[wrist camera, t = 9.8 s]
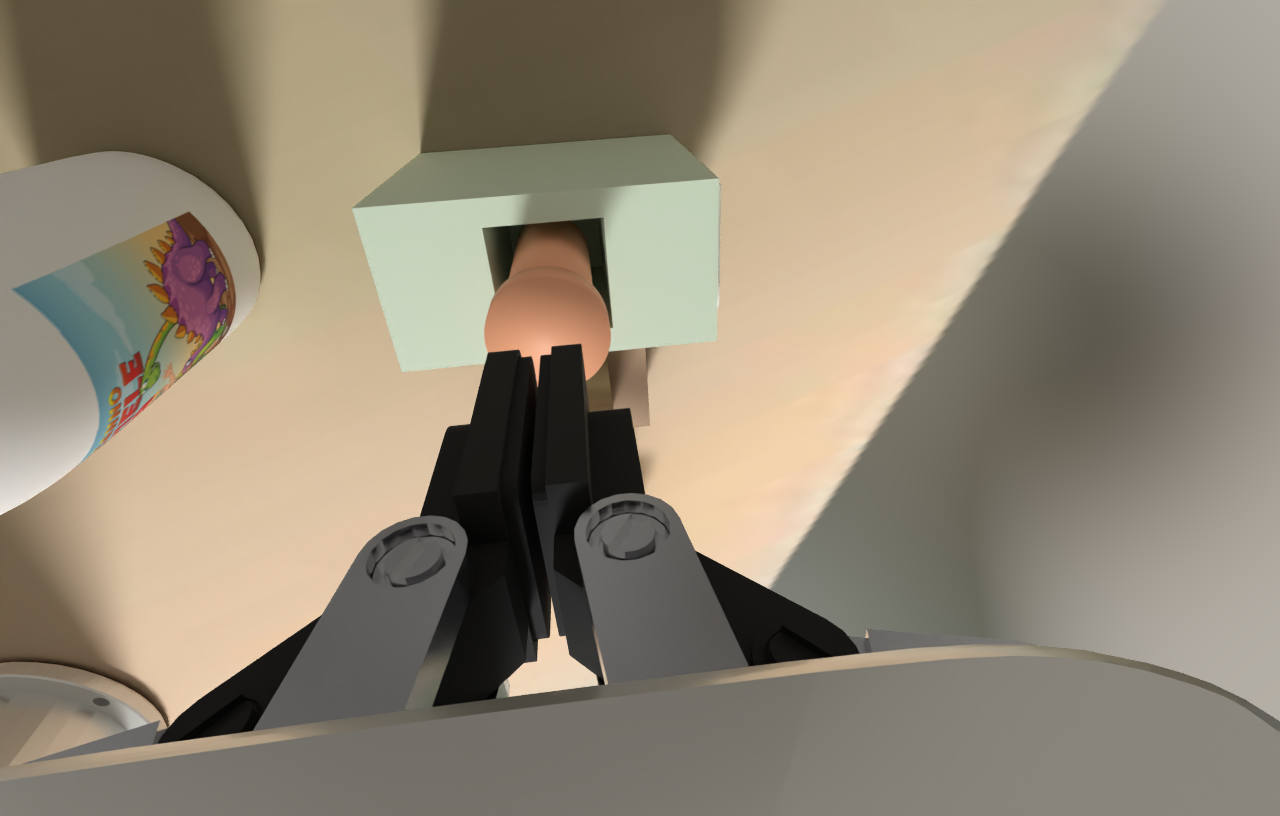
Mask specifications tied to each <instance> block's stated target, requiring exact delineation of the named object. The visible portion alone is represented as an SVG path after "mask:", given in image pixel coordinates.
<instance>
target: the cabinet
mask: <svg viewBox="0 0 1280 816" xmlns="http://www.w3.org/2000/svg"><path fill="white" fill-rule="evenodd" d="M720 210H721V184H720V183H719V178H718V177H717V176H716V175H715V174H714V173H713V172H711V171H710V170H709V169H708V168H707V167H706V166H705V165H704V164H703V163H701V162H700V161H699V160H698V159H697V158H696V157H695V156H694V155H693V154H692V153H690V152H689V151H688V150H687V149H686V148H685V147H684V146H683V145H682V144H681V143H679V142H678V141H677V140H676V139H675V138H674V137H673V136H672V135H671V134H666V135H653V136H640V137H627V138H614V139H601V140H588V141H575V142H562V143H549V144H536V145H523V146H510V147H497V148H484V149H471V150H457V151H444V152H431V153H420V154H419V155H417V156H416V157H415V158H414V159H412V160H411V161H410V162H409V163H408V164H406V165H405V166H404V167H403V168H401V169H400V170H399V171H398V172H396V173H395V174H394V175H393V176H391V177H390V178H389V179H388V180H386V181H385V182H384V183H383V184H381V185H380V186H379V187H378V188H377V189H375V190H374V191H373V192H372V193H370V194H369V195H368V196H367V197H365V198H364V199H363V200H362V201H360V202H359V203H358V204H357V205H355V206H354V207H353V208H352V211H353V214H354V217H355V220H356V224H357V227H358V230H359V234H360V237H361V240H362V243H363V247H364V250H365V253H366V256H367V260H368V263H369V266H370V269H371V273H372V276H373V279H374V283H375V286H376V289H377V292H378V296H379V299H380V302H381V305H382V309H383V312H384V315H385V319H386V322H387V325H388V328H389V332H390V335H391V338H392V341H393V345H394V348H395V351H396V355H397V358H398V361H399V364H400V368H401V371H402V372H407V371H417V370H427V369H437V368H448V367H458V366H468V365H478V364H485V362H486V358H487V354H488V352H487V348H486V345H485V339H484V327H485V321H486V317H487V314H488V310H489V307H490V303H491V300H492V298H493V296H494V294H495V293H496V291H497V290H498V288H499V287H500V286H501V285H502V284H503V283H504V282H505V281H506V280H507V279H509V275H510V271H511V267H512V262H513V258H514V253H515V249H516V245H517V240H518V237H519V235H520V233H521V231H522V230H523V228H524V227H525V226H526V225H527V224H534V223H546V222H557V221H569V220H570V221H572V222H573V223H574V224H576V225H577V226H578V227H579V228H580V230H581V231H582V232H583V234H584V236H585V238H586V240H587V243H588V249H589V258H590V266H591V275H592V283H593V286H594V287H595V288H596V289H597V291H598V292H599V293H600V295H601V297H602V298H603V300H604V303H605V305H606V308H607V311H608V318H609V324H610V330H611V343H610V348H609V351H619V350H629V349H640V348H650V347H660V346H670V345H680V344H690V343H700V342H710V341H717V308H719V272H720Z"/></svg>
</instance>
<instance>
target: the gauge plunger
mask: <svg viewBox="0 0 1280 816" xmlns="http://www.w3.org/2000/svg"><path fill="white" fill-rule="evenodd" d="M484 339H485V345H486V348H487V352H498V351H509V350H520V353H521V356H522V357H529V356H532V359H533V363H534V368H535V374H536V380H537V386H538V380H539V368H540V356H541V355H549V354H551V347H552V346H561V345H571V344H581V345H582V352H583V360H584V368H585V376H586V381H587V380H588V379H590V378H591V377H592V376H593V375H594V374H595V373H596V372H597V371H598V370H599V369H600V368H601V366H602V365H603V363H604V361H605V359H606V357H607V355H608V352H609V348H610V343H611V330H610V324H609V318H608V311H607V308H606V305H605V303H604V300H603V298H602V297H601V295H600V293H599V292H598V291H597V289H596V288H595V287H594V286H593V283H592V275H591V266H590V258H589V249H588V243H587V240H586V238H585V236H584V234H583V232H582V231H581V230H580V228H579V227H578V226H577V225H576V224H574V223H573V222H572V221H570V220H569V221H557V222H546V223H534V224H527V225H526V226H525V227H524V228H523V230H522V231H521V233H520V235H519V237H518V240H517V245H516V249H515V253H514V258H513V262H512V267H511V271H510V275H509V279H507V280H506V281H505V282H504V283H503V284H502V285H501V286H500V287H499V288H498V290H497V291H496V293H495V294H494V296H493V298H492V300H491V303H490V307H489V310H488V314H487V317H486V321H485V327H484Z"/></svg>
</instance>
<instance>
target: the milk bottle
mask: <svg viewBox="0 0 1280 816" xmlns="http://www.w3.org/2000/svg"><path fill="white" fill-rule="evenodd" d="M259 289H260V266H259V259H258V254H257V251H256V249H255V246H254V243H253V240H252V237H251V236H250V234H249V232H248V231H247V229H246V227H245V225H244V223H243V222H242V220H241V219H240V218H239V216H238V215H237V214H236V213H235V212H234V210H233V209H232V208H231V206H230V205H229V204H228V203H227V202H226V201H225V200H224V199H222V198H221V197H220V196H219V195H218V194H217V193H216V192H215V191H214V190H213V189H212V188H210V187H209V186H207V185H206V184H204V183H203V182H202V181H200V180H199V179H197V178H196V177H195V176H193V175H191V174H189V173H187V172H185V171H183V170H181V169H179V168H177V167H175V166H174V165H171V164H169V163H166V162H164V161H161V160H158V159H156V158H152V157H149V156H145V155H141V154H136V153H130V152H122V151H105V152H96V153H91V154H85V155H80V156H74V157H69V158H65V159H61V160H57V161H52V162H48V163H44V164H40V165H36V166H31V167H27V168H23V169H19V170H15V171H11V172H7V173H3V174H0V515H2V514H3V513H5V512H7V511H9V510H11V509H13V508H15V507H17V506H19V505H20V504H22V503H24V502H26V501H28V500H29V499H31V498H32V497H34V496H35V495H37V494H38V493H40V492H41V491H43V490H45V489H46V488H48V487H49V486H51V485H52V484H54V483H55V482H57V481H58V480H59V479H61V478H62V477H63V476H65V475H66V474H67V473H68V472H70V471H71V470H72V469H73V468H75V467H76V466H77V465H78V464H80V463H81V462H82V461H83V460H85V459H86V458H87V457H89V456H90V455H91V454H92V453H94V452H95V451H96V450H97V449H99V448H100V447H101V446H102V445H104V444H105V443H106V442H107V441H108V440H109V439H111V438H112V437H113V436H114V435H115V434H116V433H118V432H119V431H120V430H121V429H122V428H123V427H125V426H126V425H127V424H128V423H129V422H130V421H131V420H133V419H134V418H135V417H136V416H137V415H138V414H140V413H141V412H142V411H143V410H144V409H145V408H147V407H148V406H149V405H150V404H151V403H152V402H153V401H155V400H156V399H157V398H158V397H159V396H160V395H162V394H163V393H164V392H165V391H166V390H167V389H168V388H169V387H171V386H172V385H173V384H174V383H175V382H176V381H177V380H179V379H180V378H181V377H182V376H183V375H184V374H185V373H186V372H188V371H189V370H190V369H191V368H192V367H193V366H194V365H196V364H197V363H198V362H199V361H200V360H201V359H202V358H203V357H205V356H206V355H207V354H208V353H209V352H210V351H211V350H212V349H214V348H215V347H216V346H217V345H218V344H219V343H220V342H221V341H222V340H224V339H225V338H226V337H227V336H228V335H229V334H230V333H231V332H232V331H233V330H234V329H236V328H237V327H238V326H239V325H240V324H241V323H242V322H243V321H244V319H245V318H246V317H247V316H248V315H249V314H250V312H251V310H252V309H253V307H254V305H255V303H256V301H257V297H258V294H259Z"/></svg>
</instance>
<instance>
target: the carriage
mask: <svg viewBox="0 0 1280 816" xmlns="http://www.w3.org/2000/svg"><path fill="white" fill-rule="evenodd" d="M586 385H587V393H588V402H589V410H590V412H593V411H602V410H612V409H622V408H630V410H631V416H632V421H633V427H641V426H650V420H649V402H648V384H647V366H646V349H645V348H640V349H629V350H619V351H609V352H608V355H607V357H606V359H605V361H604V363H603V365H602V366H601V368H600V369H599V370H598V371H597V372H596V373H595V374H594V375H593V376H592V377H591V378H590V379H588V380H587V381H586Z"/></svg>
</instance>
